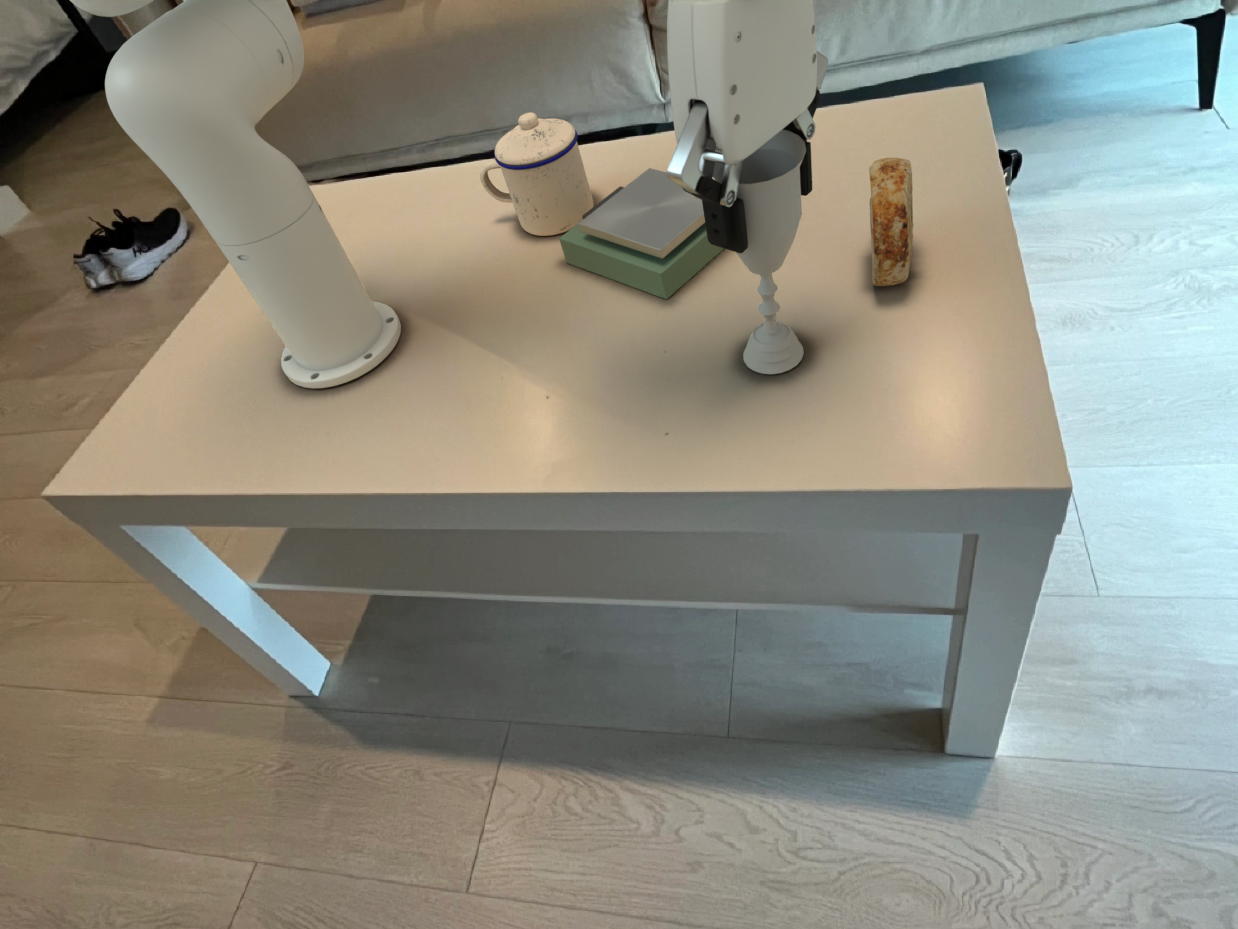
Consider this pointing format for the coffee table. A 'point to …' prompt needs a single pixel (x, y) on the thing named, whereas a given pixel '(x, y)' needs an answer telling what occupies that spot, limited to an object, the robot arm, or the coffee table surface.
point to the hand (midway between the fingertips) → (760, 216)
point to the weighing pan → (647, 215)
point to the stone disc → (891, 220)
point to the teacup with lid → (541, 175)
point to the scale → (639, 259)
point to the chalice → (770, 241)
